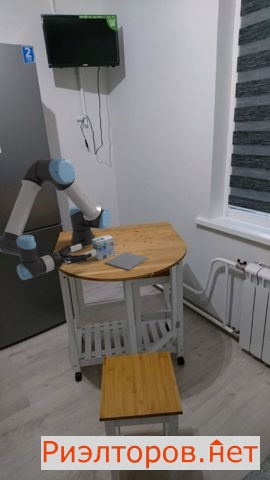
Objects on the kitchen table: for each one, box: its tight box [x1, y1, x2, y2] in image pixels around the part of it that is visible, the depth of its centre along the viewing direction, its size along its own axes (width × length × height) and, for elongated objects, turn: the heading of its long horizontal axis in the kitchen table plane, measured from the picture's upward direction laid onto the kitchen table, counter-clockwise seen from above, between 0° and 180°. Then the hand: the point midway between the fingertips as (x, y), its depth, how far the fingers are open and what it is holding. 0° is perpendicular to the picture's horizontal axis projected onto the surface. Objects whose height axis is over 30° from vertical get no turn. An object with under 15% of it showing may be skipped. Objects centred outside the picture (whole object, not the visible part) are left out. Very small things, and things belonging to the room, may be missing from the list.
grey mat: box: [104, 251, 149, 271], centre depth 149 cm, size 16×16×1 cm
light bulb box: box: [91, 234, 116, 261], centre depth 155 cm, size 11×7×11 cm, turn 126°
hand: (88, 249), depth 148 cm, fingers open, 13 cm apart
